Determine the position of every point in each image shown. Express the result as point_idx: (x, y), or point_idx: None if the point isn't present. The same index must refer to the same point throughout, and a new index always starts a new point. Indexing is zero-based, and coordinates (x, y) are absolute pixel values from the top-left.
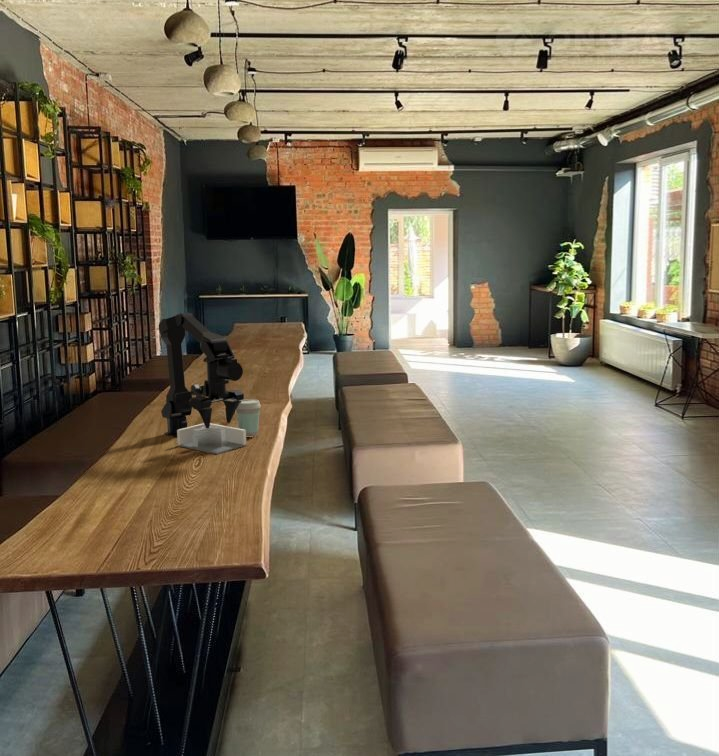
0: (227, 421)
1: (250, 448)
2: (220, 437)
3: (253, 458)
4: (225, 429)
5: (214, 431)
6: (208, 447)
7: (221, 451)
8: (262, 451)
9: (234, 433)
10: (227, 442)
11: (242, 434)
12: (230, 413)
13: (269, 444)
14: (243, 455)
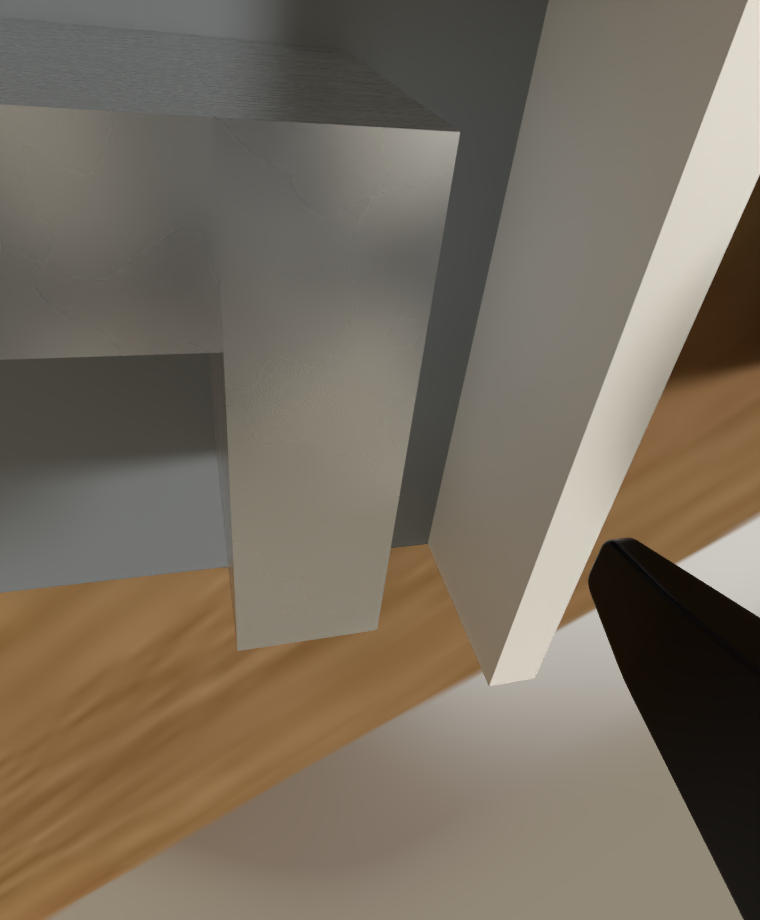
0: (613, 568)
1: (396, 600)
2: (224, 526)
3: (162, 781)
4: (345, 622)
5: (225, 475)
6: None
7: (57, 584)
8: (364, 699)
9: (502, 519)
10: (435, 349)
11: (471, 629)
12: (708, 790)
13: (576, 603)
14: (171, 707)
